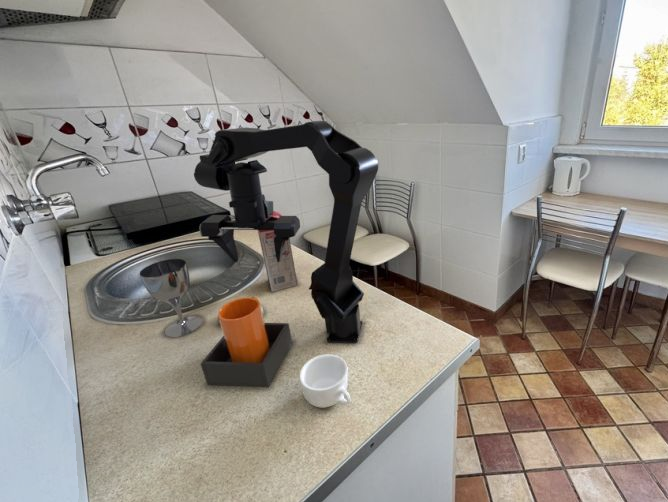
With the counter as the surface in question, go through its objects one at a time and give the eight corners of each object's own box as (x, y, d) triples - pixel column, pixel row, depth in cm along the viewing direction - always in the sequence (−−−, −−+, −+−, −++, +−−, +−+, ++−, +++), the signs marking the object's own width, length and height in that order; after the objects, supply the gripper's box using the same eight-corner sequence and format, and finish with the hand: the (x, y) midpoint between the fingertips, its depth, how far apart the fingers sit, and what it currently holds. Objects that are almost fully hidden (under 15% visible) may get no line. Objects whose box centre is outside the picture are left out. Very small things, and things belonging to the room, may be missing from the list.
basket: (292, 342, 67) (288, 323, 65) (269, 387, 56) (263, 365, 55) (240, 341, 67) (234, 322, 65) (207, 385, 57) (200, 363, 55)
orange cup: (277, 348, 65) (265, 297, 60) (262, 374, 58) (248, 320, 54) (244, 347, 65) (231, 297, 60) (226, 373, 59) (209, 320, 54)
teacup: (294, 397, 54) (289, 373, 52) (330, 370, 60) (327, 347, 58) (332, 433, 48) (328, 407, 46) (368, 398, 54) (366, 374, 52)
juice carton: (272, 291, 85) (255, 212, 76) (268, 280, 90) (252, 205, 81) (297, 284, 88) (284, 208, 79) (292, 274, 93) (279, 201, 84)
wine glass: (183, 313, 77) (164, 257, 71) (212, 317, 75) (194, 260, 69) (153, 336, 69) (129, 275, 64) (184, 340, 68) (162, 279, 62)
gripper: (302, 184, 73) (308, 245, 79) (217, 182, 72) (230, 245, 78) (289, 198, 63) (297, 268, 69) (189, 197, 61) (207, 268, 68)
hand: (258, 261), depth 71 cm, fingers open, 9 cm apart
